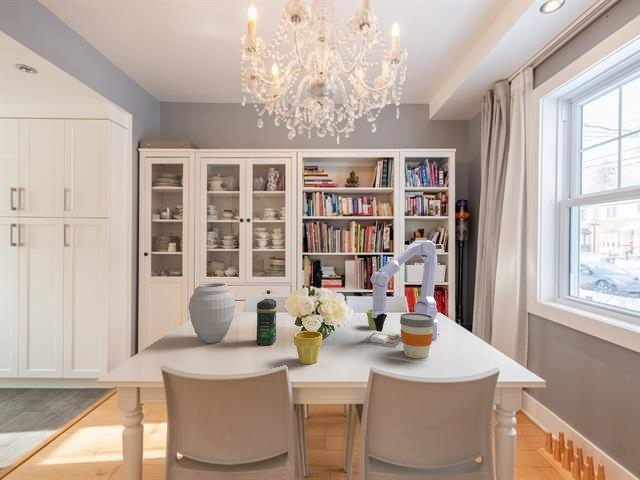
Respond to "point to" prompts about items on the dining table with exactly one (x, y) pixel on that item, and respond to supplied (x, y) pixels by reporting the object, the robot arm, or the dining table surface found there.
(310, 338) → the plant pot
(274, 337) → the coffee jar
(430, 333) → the reusable coffee cup
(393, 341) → the wooden plank
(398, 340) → the mat
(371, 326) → the plant pot
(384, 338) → the tile
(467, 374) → the dining table surface
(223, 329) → the vase
